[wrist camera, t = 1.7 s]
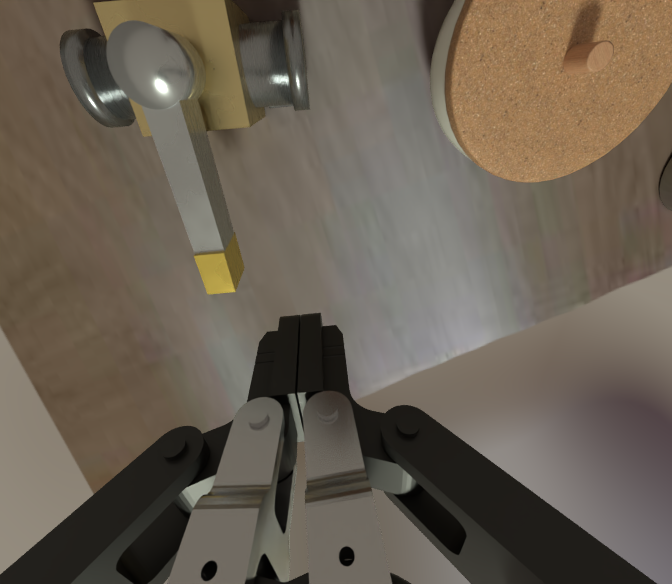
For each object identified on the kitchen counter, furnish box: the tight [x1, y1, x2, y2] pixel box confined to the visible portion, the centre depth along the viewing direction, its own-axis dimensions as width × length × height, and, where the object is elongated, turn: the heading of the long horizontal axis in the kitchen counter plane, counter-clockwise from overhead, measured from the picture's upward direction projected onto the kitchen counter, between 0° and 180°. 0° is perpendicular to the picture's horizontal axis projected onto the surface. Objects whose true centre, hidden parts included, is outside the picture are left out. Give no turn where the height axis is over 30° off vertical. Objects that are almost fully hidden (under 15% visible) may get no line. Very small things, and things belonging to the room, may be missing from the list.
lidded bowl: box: [430, 0, 672, 182], centre depth 19 cm, size 13×13×11 cm
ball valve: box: [60, 0, 310, 137], centre depth 20 cm, size 14×6×8 cm, turn 94°
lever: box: [107, 20, 244, 294], centre depth 18 cm, size 14×3×3 cm, turn 4°
